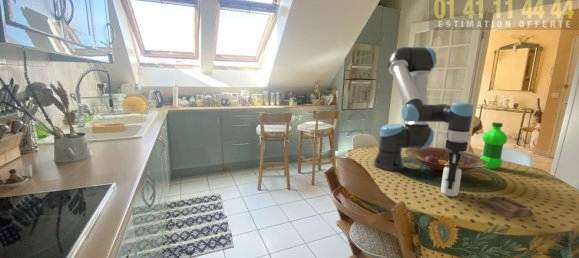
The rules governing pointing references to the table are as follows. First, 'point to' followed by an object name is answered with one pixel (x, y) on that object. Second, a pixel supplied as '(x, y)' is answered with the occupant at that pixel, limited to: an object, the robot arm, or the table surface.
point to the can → (457, 180)
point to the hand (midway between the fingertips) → (449, 192)
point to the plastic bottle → (494, 146)
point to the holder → (505, 206)
